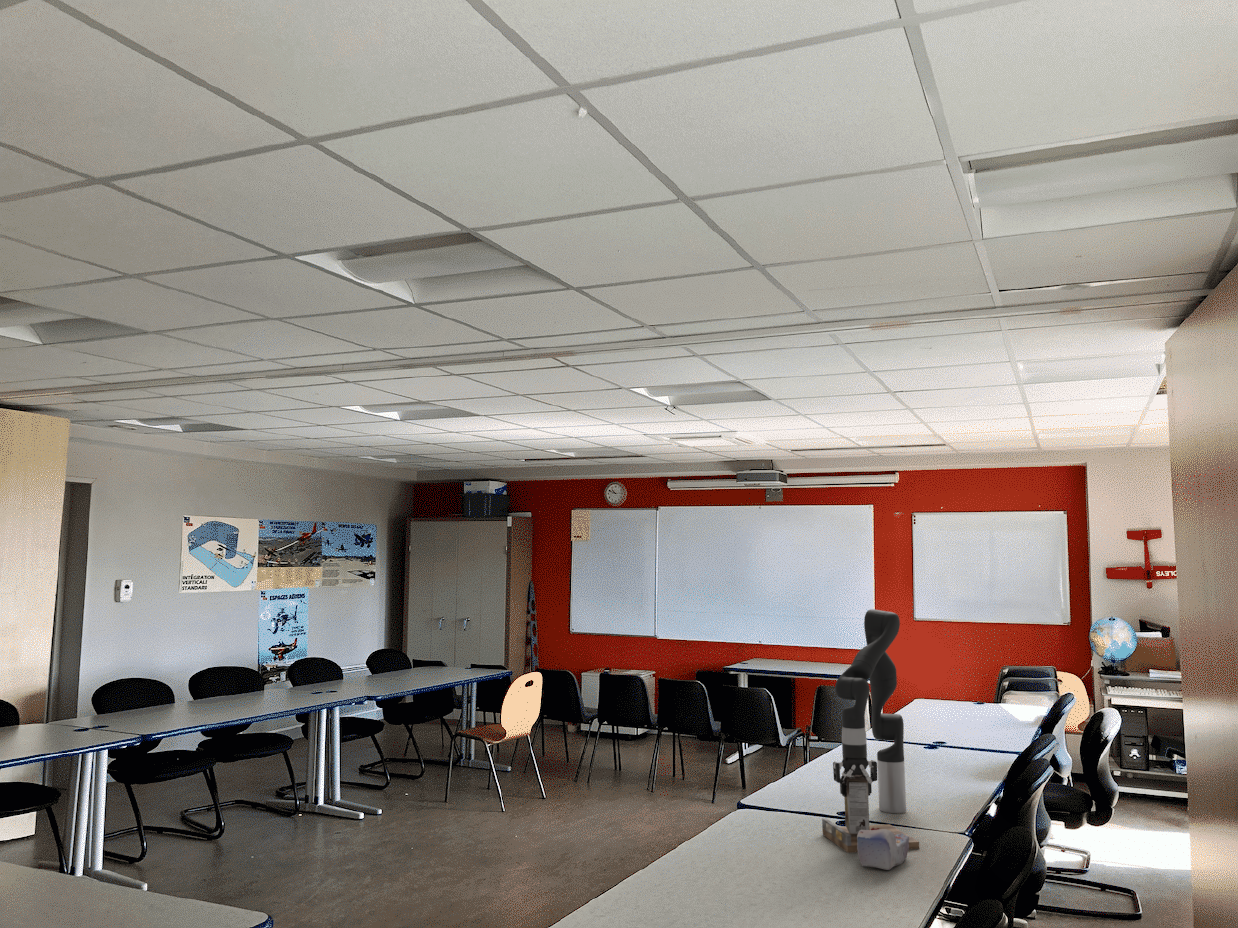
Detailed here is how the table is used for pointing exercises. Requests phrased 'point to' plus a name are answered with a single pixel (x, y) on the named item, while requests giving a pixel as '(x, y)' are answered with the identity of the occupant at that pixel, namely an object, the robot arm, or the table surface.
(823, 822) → the shelf board
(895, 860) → the cell model
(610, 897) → the table surface
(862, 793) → the coffee box
